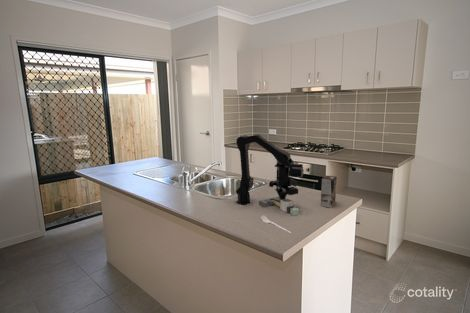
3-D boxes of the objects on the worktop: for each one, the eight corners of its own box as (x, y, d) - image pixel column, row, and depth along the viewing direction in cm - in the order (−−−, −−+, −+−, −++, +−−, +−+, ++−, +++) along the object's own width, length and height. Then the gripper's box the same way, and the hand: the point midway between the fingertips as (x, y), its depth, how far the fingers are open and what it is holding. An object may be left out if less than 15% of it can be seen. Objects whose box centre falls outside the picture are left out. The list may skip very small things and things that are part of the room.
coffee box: (331, 208, 158) (333, 180, 155) (320, 205, 161) (321, 178, 158) (335, 203, 165) (337, 176, 162) (324, 201, 169) (325, 174, 166)
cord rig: (259, 204, 165) (259, 199, 164) (280, 199, 172) (280, 194, 172) (284, 218, 145) (284, 212, 144) (307, 212, 152) (308, 206, 152)
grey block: (280, 209, 156) (280, 199, 155) (287, 207, 159) (287, 198, 158) (286, 212, 152) (286, 202, 151) (293, 210, 154) (293, 201, 153)
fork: (288, 235, 128) (288, 231, 128) (259, 219, 144) (259, 216, 144) (293, 233, 130) (293, 229, 129) (264, 218, 146) (264, 214, 145)
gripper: (306, 177, 151) (305, 204, 154) (284, 169, 166) (283, 194, 170) (290, 180, 145) (289, 208, 148) (268, 171, 161) (268, 197, 164)
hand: (282, 202), depth 158 cm, fingers closed
